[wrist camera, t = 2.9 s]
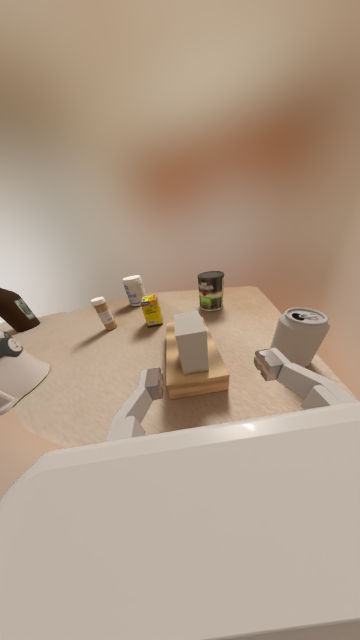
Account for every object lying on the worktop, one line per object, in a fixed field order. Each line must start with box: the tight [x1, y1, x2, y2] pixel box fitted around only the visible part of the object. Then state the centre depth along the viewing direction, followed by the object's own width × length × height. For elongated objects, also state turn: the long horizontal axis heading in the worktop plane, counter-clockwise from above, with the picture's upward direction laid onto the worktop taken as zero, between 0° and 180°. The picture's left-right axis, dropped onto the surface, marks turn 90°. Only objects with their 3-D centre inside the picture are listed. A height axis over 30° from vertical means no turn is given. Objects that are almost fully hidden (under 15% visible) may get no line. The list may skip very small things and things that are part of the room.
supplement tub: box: [123, 275, 146, 306], centre depth 72 cm, size 10×10×15 cm
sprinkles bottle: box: [91, 297, 117, 330], centre depth 52 cm, size 5×5×14 cm
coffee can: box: [198, 271, 224, 311], centre depth 56 cm, size 10×10×14 cm
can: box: [270, 307, 330, 367], centre depth 28 cm, size 8×8×12 cm
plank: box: [166, 317, 229, 399], centre depth 35 cm, size 22×12×5 cm, turn 5°
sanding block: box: [173, 310, 209, 375], centre depth 26 cm, size 7×5×10 cm
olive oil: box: [0, 288, 40, 332], centre depth 64 cm, size 11×11×25 cm
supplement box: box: [140, 294, 163, 327], centre depth 51 cm, size 6×6×11 cm
